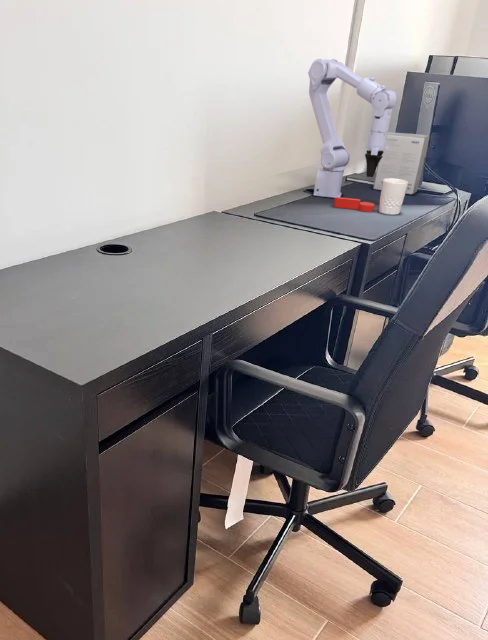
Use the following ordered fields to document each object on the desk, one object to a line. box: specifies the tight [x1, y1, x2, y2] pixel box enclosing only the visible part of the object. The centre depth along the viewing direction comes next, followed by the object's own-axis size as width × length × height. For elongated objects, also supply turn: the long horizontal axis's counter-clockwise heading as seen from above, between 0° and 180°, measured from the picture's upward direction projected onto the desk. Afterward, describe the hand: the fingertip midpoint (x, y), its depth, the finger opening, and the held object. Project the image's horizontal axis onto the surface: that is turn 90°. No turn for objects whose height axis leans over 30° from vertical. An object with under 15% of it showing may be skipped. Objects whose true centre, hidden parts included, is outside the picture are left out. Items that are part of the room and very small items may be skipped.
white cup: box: [378, 178, 408, 216], centre depth 189 cm, size 8×8×10 cm
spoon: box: [333, 197, 376, 213], centre depth 194 cm, size 13×5×3 cm, turn 73°
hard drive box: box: [372, 131, 430, 195], centre depth 217 cm, size 16×8×20 cm, turn 58°
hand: (370, 175), depth 197 cm, fingers open, 7 cm apart
